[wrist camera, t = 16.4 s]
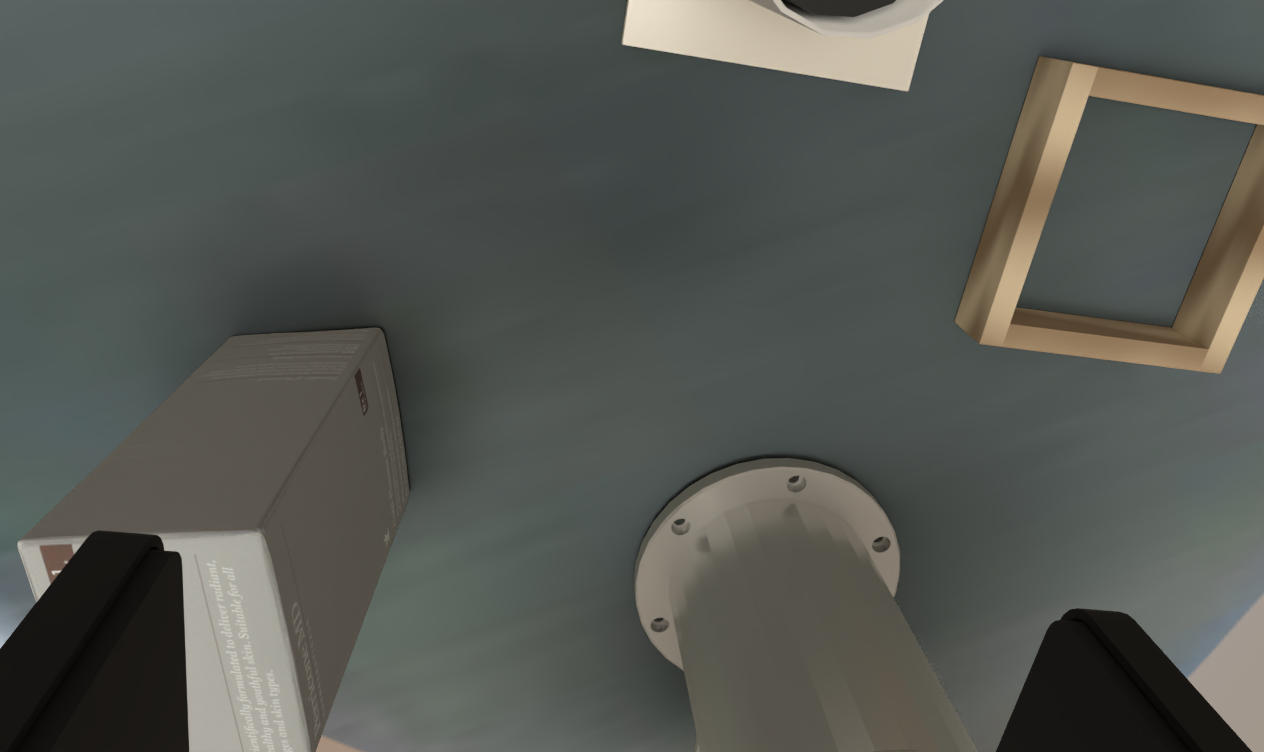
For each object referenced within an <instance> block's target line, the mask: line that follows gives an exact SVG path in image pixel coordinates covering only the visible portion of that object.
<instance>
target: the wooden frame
mask: <svg viewBox="0 0 1264 752" xmlns="http://www.w3.org/2000/svg"><path fill="white" fill-rule="evenodd" d="M1088 96H1094V97H1100V98H1105V99H1111V100H1117V101H1123V102H1129V103H1135V104H1141V105H1147V106H1153V107H1159V108H1165V109H1171V110H1177V111H1183V112H1188V113H1194V114H1200V115H1206V116H1212V117H1218V118H1224V119H1230V120H1236V121H1242V122H1248V123H1254V124H1257V126H1256V128H1255V131H1254V133H1253V136H1252V138H1251V140H1250V143H1249V145H1248V148H1247V150H1246V152H1245V155H1244V157H1243V159H1242V162H1241V164H1240V167H1239V169H1238V171H1237V174H1236V176H1235V179H1234V181H1233V183H1232V186H1231V188H1230V190H1229V193H1228V195H1227V198H1226V200H1225V202H1224V205H1223V207H1222V210H1221V212H1220V214H1219V217H1218V219H1217V221H1216V224H1215V226H1214V229H1213V231H1212V233H1211V236H1210V238H1209V240H1208V243H1207V245H1206V248H1205V250H1204V252H1203V255H1202V257H1201V260H1200V262H1199V264H1198V267H1197V269H1196V271H1195V274H1194V276H1193V279H1192V281H1191V283H1190V286H1189V288H1188V291H1187V293H1186V295H1185V298H1184V300H1183V302H1182V305H1181V307H1180V310H1179V312H1178V314H1177V317H1176V319H1175V322H1174V324H1173V326H1172V328H1171V327H1163V326H1155V325H1148V324H1140V323H1132V322H1125V321H1117V320H1109V319H1102V318H1094V317H1086V316H1079V315H1071V314H1063V313H1056V312H1048V311H1040V310H1033V309H1025V308H1017V307H1016V305H1017V302H1018V299H1019V296H1020V293H1021V290H1022V287H1023V285H1024V282H1025V279H1026V276H1027V273H1028V270H1029V267H1030V264H1031V261H1032V258H1033V256H1034V253H1035V250H1036V247H1037V244H1038V241H1039V238H1040V235H1041V232H1042V229H1043V227H1044V224H1045V221H1046V218H1047V215H1048V212H1049V209H1050V206H1051V203H1052V200H1053V198H1054V195H1055V192H1056V189H1057V186H1058V183H1059V180H1060V177H1061V174H1062V171H1063V169H1064V166H1065V163H1066V160H1067V157H1068V154H1069V151H1070V148H1071V145H1072V142H1073V140H1074V137H1075V134H1076V131H1077V128H1078V125H1079V122H1080V119H1081V116H1082V113H1083V111H1084V108H1085V105H1086V102H1087V99H1088ZM1263 278H1264V95H1260V94H1254V93H1248V92H1242V91H1237V90H1231V89H1225V88H1220V87H1214V86H1208V85H1202V84H1197V83H1191V82H1185V81H1179V80H1174V79H1168V78H1162V77H1156V76H1151V75H1145V74H1139V73H1133V72H1128V71H1122V70H1116V69H1110V68H1105V67H1099V66H1093V65H1087V64H1082V63H1076V62H1070V61H1064V60H1059V59H1053V58H1047V57H1041V56H1039V58H1038V62H1037V65H1036V68H1035V71H1034V74H1033V77H1032V80H1031V84H1030V87H1029V90H1028V93H1027V96H1026V99H1025V102H1024V105H1023V109H1022V112H1021V115H1020V118H1019V121H1018V124H1017V127H1016V131H1015V134H1014V137H1013V140H1012V143H1011V146H1010V149H1009V152H1008V156H1007V159H1006V162H1005V165H1004V168H1003V171H1002V174H1001V178H1000V181H999V184H998V187H997V190H996V193H995V196H994V199H993V203H992V206H991V209H990V212H989V215H988V218H987V221H986V225H985V228H984V231H983V234H982V237H981V240H980V243H979V246H978V250H977V253H976V256H975V259H974V262H973V265H972V268H971V272H970V275H969V278H968V281H967V284H966V287H965V290H964V293H963V297H962V300H961V303H960V306H959V309H958V312H957V315H956V319H955V323H956V324H957V325H958V326H960V327H961V328H962V329H963V330H964V331H965V332H966V333H967V334H969V335H970V336H971V337H972V338H973V339H974V340H975V341H977V342H978V343H979V344H984V345H992V346H1000V347H1008V348H1016V349H1024V350H1032V351H1041V352H1049V353H1057V354H1065V355H1073V356H1081V357H1089V358H1097V359H1105V360H1113V361H1122V362H1130V363H1138V364H1146V365H1154V366H1162V367H1170V368H1178V369H1186V370H1194V371H1203V372H1211V373H1219V374H1220V373H1221V371H1222V369H1223V367H1224V365H1225V362H1226V360H1227V358H1228V356H1229V353H1230V351H1231V349H1232V347H1233V345H1234V342H1235V340H1236V338H1237V336H1238V334H1239V331H1240V329H1241V327H1242V325H1243V322H1244V320H1245V318H1246V316H1247V314H1248V311H1249V309H1250V307H1251V305H1252V303H1253V300H1254V298H1255V296H1256V294H1257V291H1258V289H1259V287H1260V285H1261V283H1262V280H1263Z"/></svg>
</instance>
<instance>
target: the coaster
mask: <svg viewBox="0 0 1264 752" xmlns="http://www.w3.org/2000/svg"><path fill="white" fill-rule="evenodd" d="M928 16H929V13H928V14H927V15H926V16H925V17H924V18H923V19H921V20H920V21H919V22H917V23H915V24H912V25H909V26H906V27H903V28H900V29H898V30H895V31H892V32H889V33H886V34H884V35H881V36H878V37H875V38H872V39H865V38H851V37H837V36H824V35H821V34H819V33H817V32H815V31H813V30H811V29H809V28H807V27H804V26H802V25H800V24H798V23H796V22H794V21H792V20H790V19H787V18H785V17H783V16H781V15H779V14H777V13H775V12H773V11H771V10H768V9H766V8H764V7H762V6H760V5H758V4H756V3H754V2H751V1H749V0H627V5H626V12H625V19H624V26H623V32H622V39H621V44H622V45H628V46H634V47H640V48H646V49H653V50H659V51H665V52H671V53H677V54H683V55H689V56H695V57H701V58H707V59H713V60H719V61H726V62H732V63H738V64H744V65H750V66H756V67H762V68H768V69H774V70H780V71H786V72H792V73H799V74H805V75H811V76H817V77H823V78H829V79H835V80H841V81H847V82H853V83H859V84H866V85H872V86H878V87H884V88H890V89H896V90H902V91H908V90H909V86H910V83H911V79H912V75H913V72H914V68H915V64H916V60H917V57H918V53H919V49H920V46H921V42H922V38H923V35H924V31H925V27H926V23H927V20H928Z"/></svg>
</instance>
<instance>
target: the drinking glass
mask: <svg viewBox="0 0 1264 752" xmlns="http://www.w3.org/2000/svg"><path fill="white" fill-rule="evenodd" d="M749 1H751V2H754V3H756V4H758V5H760V6H762V7H764V8H766V9H768V10H771V11H773V12H775V13H777V14H779V15H781V16H783V17H785V18H787V19H790V20H792V21H794V22H796V23H798V24H800V25H802V26H804V27H807V28H809V29H811V30H813V31H815V32H817V33H819V34H821V35H824V36H837V37H851V38H865V39H872V38H875V37H878V36H881V35H884V34H886V33H889V32H892V31H895V30H898V29H900V28H903V27H906V26H909V25H912V24H915V23H917V22H919V21H920V20H921V19H923V18H924V17H925V16H926V15H927V14H928V13H930V12H931V11H932V10H933V9H934V8H935V7H937V6H938V5H939V4H940V3H941V2H942V1H943V0H749Z"/></svg>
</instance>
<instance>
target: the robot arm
mask: <svg viewBox="0 0 1264 752" xmlns="http://www.w3.org/2000/svg"><path fill="white" fill-rule="evenodd" d="M793 476H794V477H793ZM792 477H793V478H792ZM677 519H679V520H677ZM899 577H900V550H899V545H898V541H897V537H896V533H895V531H894V529H893V527H892V525H891V523H890V521H889V519H888V517H887V515H886V514H885V512H884V511H883V509H882V508H881V506H880V505H879V503H878V502H877V501H876V499H875V498H874V496H873V495H872V494H871V493H870V492H868V491H867V490H866V489H865V488H864V487H863V486H862V485H861V484H860V483H859V482H858V481H856V480H854V479H853V478H851V477H849V476H848V475H846V474H844V473H842V472H841V471H839V470H837V469H834V468H831V467H829V466H826V465H823V464H820V463H817V462H813V461H806V460H800V459H793V458H771V459H759V460H754V461H749V462H744V463H739V464H735V465H733V466H730V467H727V468H725V469H722V470H719V471H717V472H714V473H711V474H710V475H708V476H706V477H704V478H703V479H701V480H699V481H697V482H696V483H694V484H692V485H690V486H689V487H688V488H686V489H685V490H684V491H683V492H682V493H680V494H679V495H678V496H677V497H676V498H674V499H673V500H672V501H671V502H669V504H668V505H667V506H666V507H665V508H664V509H663V511H662V512H661V513H660V514H659V515H658V517H657V518H656V519H655V520H654V521H653V523H652V525H651V527H650V528H649V530H648V532H647V534H646V536H645V537H644V539H643V541H642V544H641V547H640V550H639V553H638V556H637V560H636V563H635V575H634V589H635V598H636V606H637V609H638V613H639V617H640V620H641V624H642V626H643V628H644V630H645V632H646V633H647V635H648V637H649V639H650V641H651V642H652V644H653V645H654V646H655V647H656V648H657V649H658V650H659V651H660V653H661V654H662V655H663V656H664V657H665V658H666V659H667V660H669V661H670V662H672V663H673V664H674V665H676V666H677V667H678V668H680V669H681V670H683V671H684V674H685V679H686V684H687V689H688V694H689V699H690V704H691V709H692V714H693V719H694V724H695V729H696V734H697V738H696V742H695V746H694V750H693V752H978V751H977V749H976V747H975V745H974V743H973V742H972V740H971V738H970V736H969V734H968V732H967V731H966V729H965V727H964V725H963V723H962V722H961V720H960V718H959V716H958V714H957V712H956V711H955V709H954V707H953V705H952V703H951V702H950V700H949V698H948V696H947V694H946V692H945V691H944V689H943V687H942V685H941V683H940V682H939V680H938V678H937V676H936V674H935V672H934V671H933V669H932V667H931V665H930V663H929V662H928V660H927V658H926V656H925V654H924V652H923V651H922V649H921V647H920V645H919V643H918V642H917V640H916V638H915V636H914V634H913V632H912V631H911V629H910V627H909V625H908V623H907V622H906V620H905V618H904V616H903V614H902V612H901V611H900V609H899V607H898V605H897V603H896V602H895V600H894V597H895V595H896V591H897V586H898V581H899ZM0 752H189V728H188V702H187V676H186V649H185V623H184V596H183V570H182V558H181V556H180V553H178V552H176V551H164V545H163V542H162V539H161V537H159V536H158V535H152V534H139V533H126V532H114V531H101V530H98V531H95V532H93V533H92V534H90V535H89V536H88V537H87V538H86V540H85V541H84V542H83V544H82V545H81V546H80V547H79V549H78V550H77V551H76V553H75V554H74V555H73V556H72V558H71V559H70V560H69V562H68V563H67V564H66V565H65V567H64V568H63V569H62V570H61V572H60V573H59V574H58V576H57V577H56V578H55V579H54V581H53V582H52V583H51V585H50V586H49V587H48V588H47V590H46V591H45V592H44V594H43V595H42V596H41V597H40V599H39V600H38V601H37V603H36V604H35V605H34V606H33V608H32V609H31V610H30V612H29V613H28V614H27V615H26V617H25V618H24V619H23V620H22V622H21V623H20V624H19V626H18V627H17V628H16V629H15V631H14V632H13V633H12V635H11V636H10V637H9V638H8V640H7V641H6V642H5V644H4V645H3V646H2V647H1V649H0ZM996 752H1252V751H1251V750H1250V749H1249V748H1248V747H1247V746H1246V744H1245V743H1244V742H1243V741H1242V740H1241V739H1240V738H1239V737H1238V736H1237V734H1236V733H1235V732H1234V731H1233V730H1232V729H1231V728H1230V727H1229V725H1228V724H1227V723H1226V722H1225V721H1224V720H1223V719H1222V718H1221V717H1220V715H1219V714H1218V713H1217V712H1216V711H1215V710H1214V709H1213V707H1212V706H1211V705H1210V704H1209V703H1208V702H1207V701H1206V700H1205V699H1204V697H1203V696H1202V695H1201V694H1200V693H1199V692H1198V691H1197V690H1196V689H1195V688H1194V686H1193V685H1192V684H1191V683H1190V682H1189V681H1188V679H1187V678H1186V677H1185V676H1184V675H1183V674H1182V673H1181V672H1180V671H1179V669H1178V668H1177V667H1176V666H1175V665H1174V664H1173V663H1172V662H1171V660H1170V659H1169V658H1168V657H1167V656H1166V655H1165V654H1164V653H1163V652H1162V650H1161V649H1160V648H1159V647H1158V646H1157V645H1156V644H1155V643H1154V641H1153V640H1152V639H1151V638H1150V637H1149V636H1148V635H1147V634H1146V633H1145V631H1144V630H1143V629H1142V628H1141V627H1140V626H1139V625H1138V624H1137V622H1136V621H1135V620H1134V619H1132V618H1131V617H1130V616H1129V615H1127V614H1125V613H1121V612H1115V611H1103V610H1090V609H1071V610H1069V611H1068V612H1066V613H1065V614H1064V615H1063V616H1062V618H1061V620H1058V621H1055V622H1053V623H1052V624H1051V625H1050V626H1049V628H1048V630H1047V632H1046V634H1045V636H1044V639H1043V641H1042V644H1041V646H1040V648H1039V651H1038V653H1037V655H1036V658H1035V660H1034V663H1033V665H1032V667H1031V670H1030V672H1029V674H1028V677H1027V679H1026V682H1025V684H1024V686H1023V689H1022V691H1021V693H1020V696H1019V698H1018V701H1017V703H1016V705H1015V708H1014V710H1013V712H1012V715H1011V717H1010V720H1009V722H1008V724H1007V727H1006V729H1005V731H1004V734H1003V736H1002V739H1001V741H1000V743H999V746H998V748H997V750H996Z"/></svg>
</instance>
